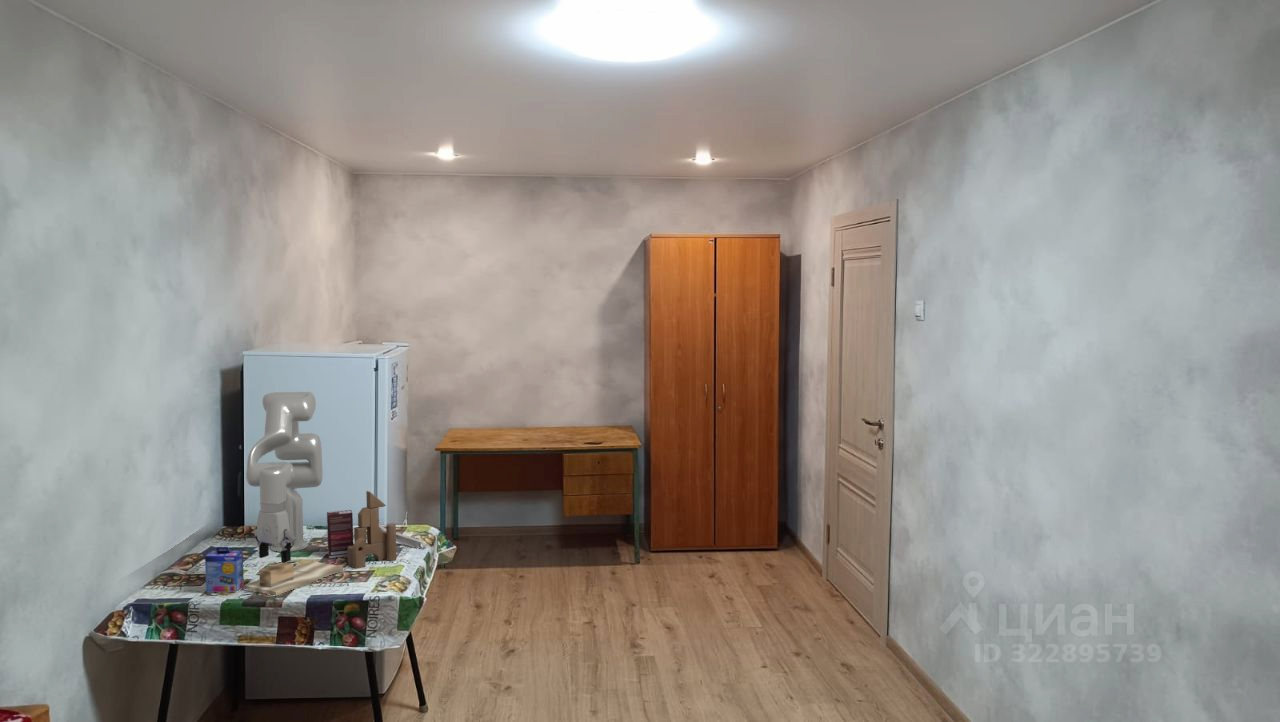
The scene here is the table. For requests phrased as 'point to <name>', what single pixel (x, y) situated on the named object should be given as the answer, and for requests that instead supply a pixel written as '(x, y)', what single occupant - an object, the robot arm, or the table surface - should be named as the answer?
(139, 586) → the table surface
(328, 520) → the supplement box
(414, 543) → the wrench
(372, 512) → the wooden toy
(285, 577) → the block
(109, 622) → the table surface
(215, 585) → the ink cartridge box
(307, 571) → the board
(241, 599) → the table surface
